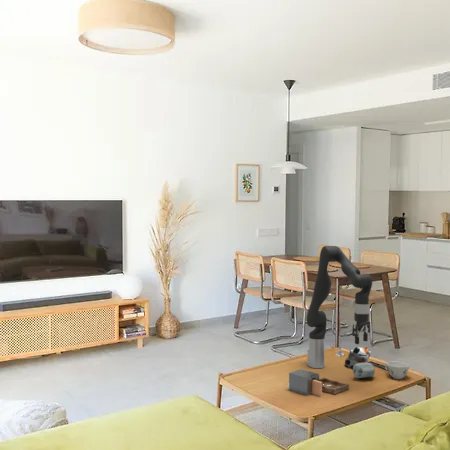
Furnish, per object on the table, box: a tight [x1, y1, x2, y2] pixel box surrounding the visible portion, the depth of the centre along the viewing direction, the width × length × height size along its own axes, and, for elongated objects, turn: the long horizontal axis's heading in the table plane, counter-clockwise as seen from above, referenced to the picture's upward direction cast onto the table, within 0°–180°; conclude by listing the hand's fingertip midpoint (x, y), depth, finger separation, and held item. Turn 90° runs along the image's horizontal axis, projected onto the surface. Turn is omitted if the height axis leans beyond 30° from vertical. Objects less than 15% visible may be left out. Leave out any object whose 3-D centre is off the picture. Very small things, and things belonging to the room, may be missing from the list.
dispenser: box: [288, 368, 320, 396], centre depth 285 cm, size 12×10×9 cm
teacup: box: [384, 360, 410, 380], centre depth 309 cm, size 15×12×8 cm
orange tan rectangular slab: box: [311, 379, 323, 397], centre depth 281 cm, size 10×2×7 cm, turn 44°
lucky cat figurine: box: [344, 346, 372, 369], centre depth 327 cm, size 15×12×14 cm
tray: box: [319, 377, 350, 396], centre depth 289 cm, size 16×13×3 cm
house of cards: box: [335, 345, 345, 358], centre depth 348 cm, size 9×9×8 cm
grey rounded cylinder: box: [352, 362, 376, 379], centre depth 306 cm, size 14×10×10 cm
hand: (361, 342), depth 288 cm, fingers open, 8 cm apart
